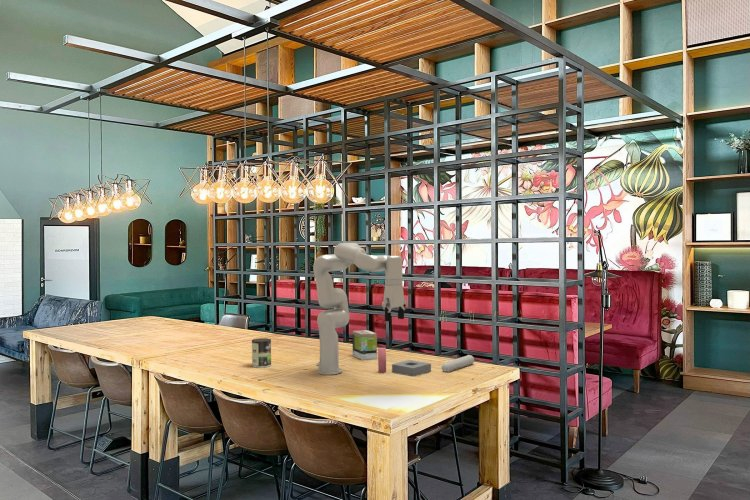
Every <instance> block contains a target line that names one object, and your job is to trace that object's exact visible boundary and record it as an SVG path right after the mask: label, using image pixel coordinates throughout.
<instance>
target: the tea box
mask: <svg viewBox="0 0 750 500" xmlns="http://www.w3.org/2000/svg"><path fill="white" fill-rule="evenodd" d="M351 335H352V357H355V358H357V359H359V360H361V361H366V360H367V361H368V360H369V361H370V360H378V334H377V332H374V331H371V330H368V329H366V330H365V329H364V330H361V329H360V330H353V331H352V333H351Z"/></svg>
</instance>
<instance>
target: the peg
mask: <svg viewBox="0 0 750 500" xmlns="http://www.w3.org/2000/svg"><path fill="white" fill-rule="evenodd" d="M377 365H378V366H377V369H378V371H377V372H378V373H379V374H384V373H387V348H386V347H379V348H378V347H377Z"/></svg>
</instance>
